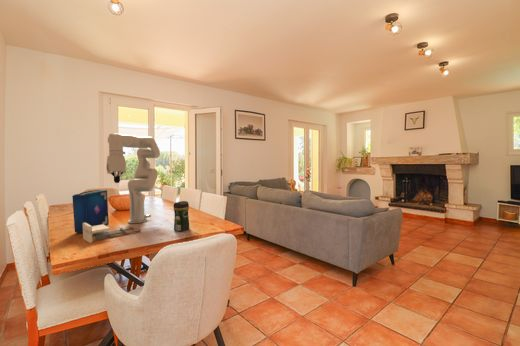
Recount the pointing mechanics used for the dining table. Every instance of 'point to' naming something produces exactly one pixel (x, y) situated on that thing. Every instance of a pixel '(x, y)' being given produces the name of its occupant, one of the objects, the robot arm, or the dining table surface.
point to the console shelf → (92, 231)
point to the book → (90, 209)
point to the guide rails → (125, 233)
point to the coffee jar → (181, 216)
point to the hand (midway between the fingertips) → (117, 182)
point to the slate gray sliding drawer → (108, 234)
